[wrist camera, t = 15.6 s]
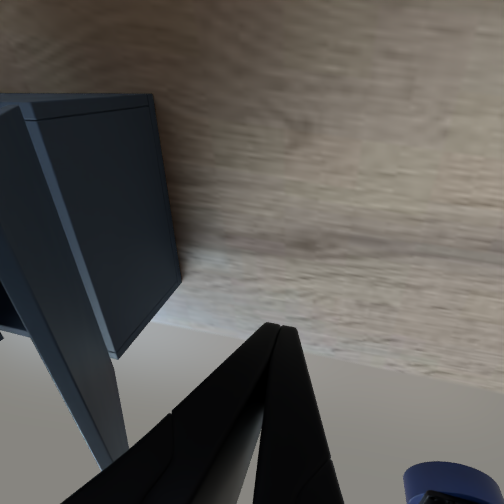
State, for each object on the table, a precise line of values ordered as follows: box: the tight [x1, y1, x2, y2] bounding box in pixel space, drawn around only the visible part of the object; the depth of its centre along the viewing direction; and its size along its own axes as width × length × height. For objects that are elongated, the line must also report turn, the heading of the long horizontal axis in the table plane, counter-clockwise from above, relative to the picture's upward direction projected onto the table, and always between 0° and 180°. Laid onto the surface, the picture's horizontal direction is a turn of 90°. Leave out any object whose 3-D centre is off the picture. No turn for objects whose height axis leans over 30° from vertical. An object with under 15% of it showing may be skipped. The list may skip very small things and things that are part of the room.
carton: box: [0, 93, 182, 360], centre depth 15 cm, size 13×11×7 cm
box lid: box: [0, 105, 129, 471], centre depth 8 cm, size 6×11×1 cm
